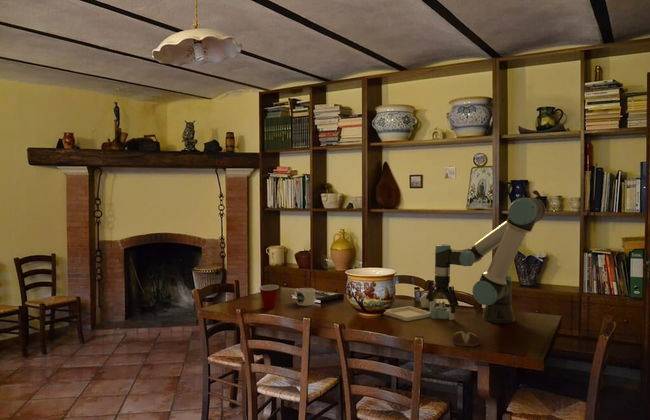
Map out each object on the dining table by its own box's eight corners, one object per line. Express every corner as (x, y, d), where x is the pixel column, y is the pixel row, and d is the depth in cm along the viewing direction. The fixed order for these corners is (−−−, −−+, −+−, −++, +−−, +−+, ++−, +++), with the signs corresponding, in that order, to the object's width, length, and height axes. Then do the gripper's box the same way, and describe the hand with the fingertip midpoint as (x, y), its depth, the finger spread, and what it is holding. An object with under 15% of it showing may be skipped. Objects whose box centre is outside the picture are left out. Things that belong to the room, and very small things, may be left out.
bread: (451, 346, 214) (451, 334, 214) (454, 338, 225) (454, 327, 224) (478, 349, 210) (479, 337, 210) (481, 341, 221) (481, 330, 220)
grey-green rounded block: (441, 313, 267) (441, 306, 267) (453, 317, 260) (454, 309, 260) (426, 316, 261) (426, 308, 261) (438, 320, 254) (438, 312, 254)
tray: (433, 316, 262) (433, 312, 262) (406, 321, 252) (406, 317, 252) (409, 309, 277) (409, 306, 277) (383, 314, 267) (383, 310, 267)
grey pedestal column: (450, 317, 260) (450, 302, 260) (441, 319, 257) (442, 303, 257) (441, 315, 265) (441, 300, 265) (433, 316, 262) (433, 301, 262)
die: (438, 308, 284) (430, 292, 288) (440, 303, 276) (431, 287, 281) (424, 314, 283) (416, 298, 288) (425, 309, 275) (417, 293, 280)
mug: (318, 303, 293) (318, 289, 293) (308, 306, 284) (308, 292, 284) (299, 300, 300) (299, 286, 300) (288, 303, 291) (288, 289, 291)
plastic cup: (254, 308, 278) (254, 286, 278) (267, 305, 288) (267, 283, 287) (271, 311, 273) (270, 289, 272) (282, 307, 282) (282, 285, 282)
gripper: (466, 278, 252) (465, 321, 253) (430, 270, 273) (429, 310, 274) (455, 279, 248) (454, 323, 249) (419, 272, 269) (418, 312, 270)
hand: (441, 316), depth 261 cm, fingers open, 13 cm apart
